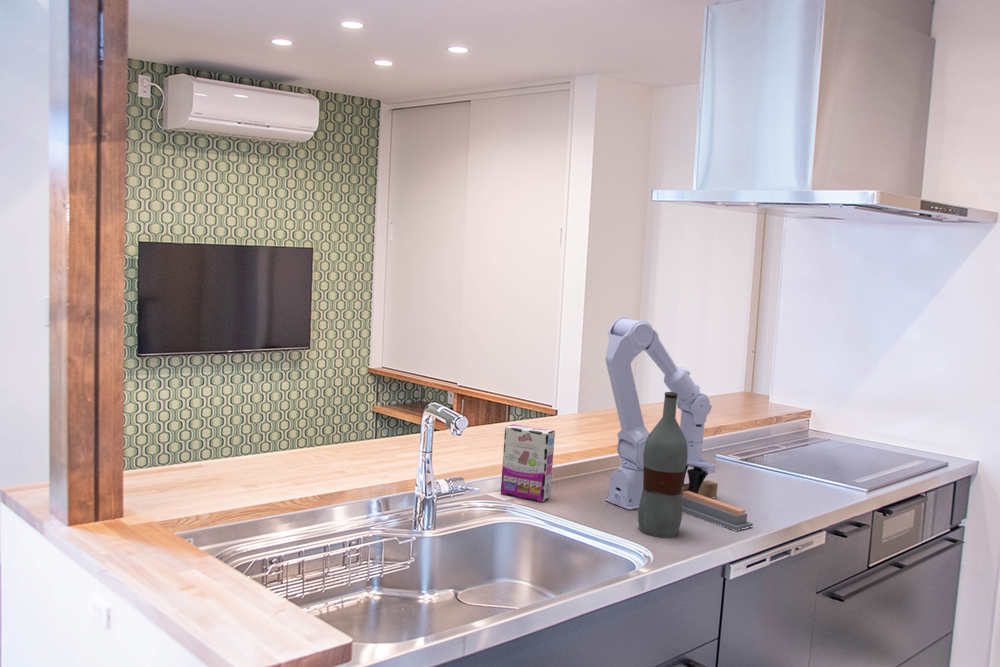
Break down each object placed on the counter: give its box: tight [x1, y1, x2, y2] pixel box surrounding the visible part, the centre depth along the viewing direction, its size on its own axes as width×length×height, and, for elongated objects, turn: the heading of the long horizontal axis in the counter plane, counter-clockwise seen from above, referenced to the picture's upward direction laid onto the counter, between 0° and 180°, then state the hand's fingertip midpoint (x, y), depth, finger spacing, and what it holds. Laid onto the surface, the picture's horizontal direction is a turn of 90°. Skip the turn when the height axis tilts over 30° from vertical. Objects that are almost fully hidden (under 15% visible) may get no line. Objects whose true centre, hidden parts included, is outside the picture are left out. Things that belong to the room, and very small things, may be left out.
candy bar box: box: [500, 424, 556, 503], centre depth 194 cm, size 11×5×16 cm, turn 65°
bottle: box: [637, 391, 688, 538], centre depth 175 cm, size 9×9×30 cm
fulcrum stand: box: [682, 491, 754, 530], centre depth 189 cm, size 6×18×4 cm, turn 37°
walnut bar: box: [681, 479, 719, 499], centre depth 201 cm, size 20×3×4 cm, turn 126°
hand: (685, 494), depth 201 cm, fingers open, 4 cm apart
